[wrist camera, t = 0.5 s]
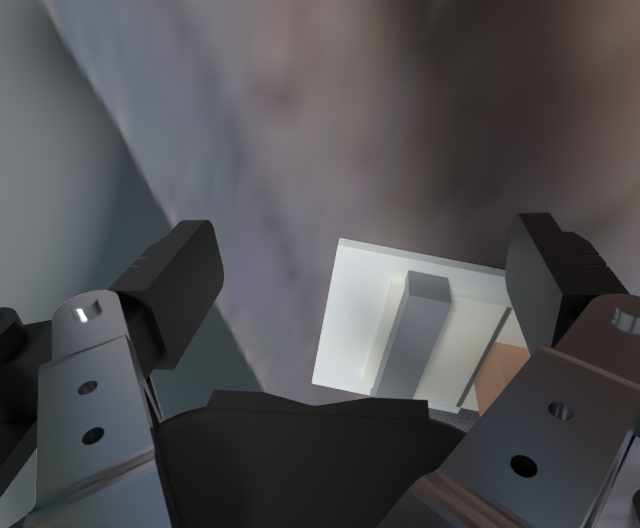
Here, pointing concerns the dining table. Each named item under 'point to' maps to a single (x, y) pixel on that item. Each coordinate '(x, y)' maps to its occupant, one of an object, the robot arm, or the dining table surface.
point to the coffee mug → (637, 503)
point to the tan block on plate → (498, 366)
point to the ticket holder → (408, 324)
